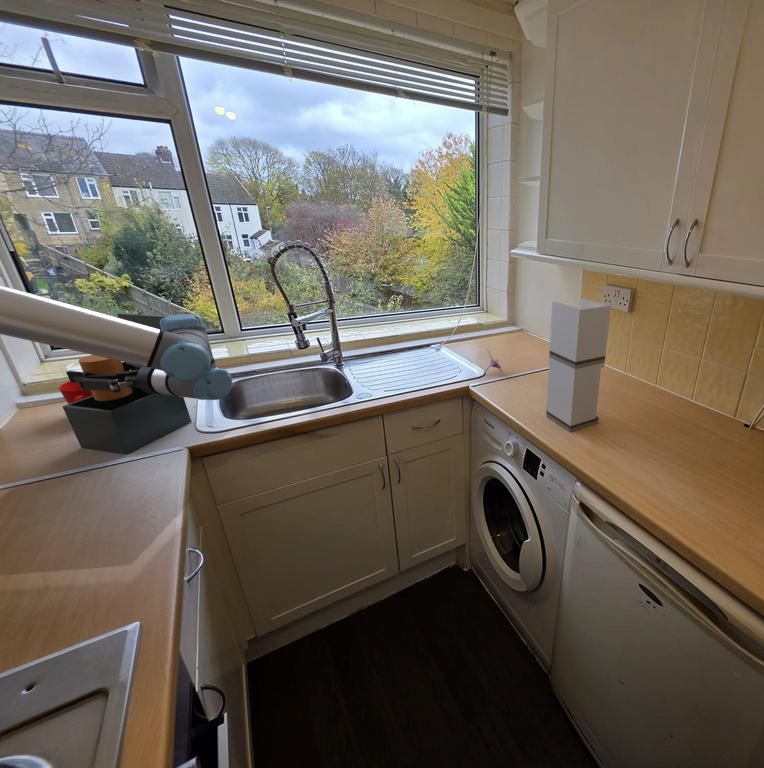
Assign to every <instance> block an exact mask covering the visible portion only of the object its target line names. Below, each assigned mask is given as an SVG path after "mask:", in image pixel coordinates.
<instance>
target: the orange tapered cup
mask: <svg viewBox="0 0 764 768" xmlns="http://www.w3.org/2000/svg"><path fill="white" fill-rule="evenodd" d="M78 363H79V365H80V368H81V370H82V371H81V372H89V373H92V375H102V374H118V373H120V372H125V370H124V368H123V365H122V361H118V360H113V359H109V358H104V357H100V356H96V355H91V354H89V355H87V356H86V355H85V356H83V357H81V358H79V359H78ZM91 392H92V394H93V396H94V399H95V400H97V401H108V400H114V399H118V398H122V397H125V396H127V395H129V394H131V393H132V389H131V387H122V388H121V391H120V392H118V393H114V392H111V391H97V390H91Z"/></svg>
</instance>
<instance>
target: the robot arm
mask: <svg viewBox="0 0 764 768" xmlns="http://www.w3.org/2000/svg"><path fill="white" fill-rule="evenodd" d="M160 326H161V330H160V329H156V328H153V327H149V326H146V325H142V324H138V323H135V322H131V321H128V320H124V319H120V318H118V316H113V315H110V314H106V313H102V312H98V311H96V310H92V309H88V308H84V307H81V306H77V305H74V304H70V303H66V302H62V301H59V300H55V299H53V298H52V299H51V298H48V297H45V296H41V295H38V294H34V293H30V292H27V291H23V290H20V289H16V288H13V287H9V286H7V285H2V284H0V335H2V336H7V337H11V338H16V339H20V340H24V341H29V342H34V343H38V344H43V345H46V346H52V347H56V348H60V349H64V350H70V351H74V352H78V353H83V354H87V355H96V356H100V357H104V358H109V359H113V360H118V361H121V362H122V365H123V368H124V370H125V372H120V373H118V374H102V375H92V373H89V372H83V371H76V370H75V371H74V370H67V371H65V373H66V375H67V378H68V380H69V381H70V382H71V383H79V385H80V387H81V389H82V390H97V391H111V392H114V393H118V392H120V391H121V388H122V387H138V388H140V389H141V390H143V391H145V392H147V393H151V394H160V395H171V396H179V397H184V398H187V399H195V400H196V399H197V400H199V401H200V400H201V401H218V400H221V399H224V398H226V397H227V396H228V395H229V394H230V392H231V390H232V387H233V378H232V375H231V374H230V373H229V371H227V370H226V369H224V368H221V367H217V363H216V360H215V357H214V355H213V352H212V347H211V344H210V340H209V336H208V333H207V327H206V326H205V323H204V320H203V317H202V316H200V315H198V314H195V313H182V314H181V313H180V314H174V315H168V316H165V318H163V319H161V320H160Z"/></svg>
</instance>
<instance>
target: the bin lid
mask: <svg viewBox="0 0 764 768" xmlns="http://www.w3.org/2000/svg"><path fill="white" fill-rule="evenodd" d="M116 315H117V318H120V319H124V320H128V321H131V322H135V323H138V324H142V325H146V326H149V327H153V328H156V329H160V330H161V326H160V320H161V319H163V318H165V317H166V316H165V315H154V314H153V315H151V314H140V313H139V314H138V313H124V312H118V313H117V314H116Z"/></svg>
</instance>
